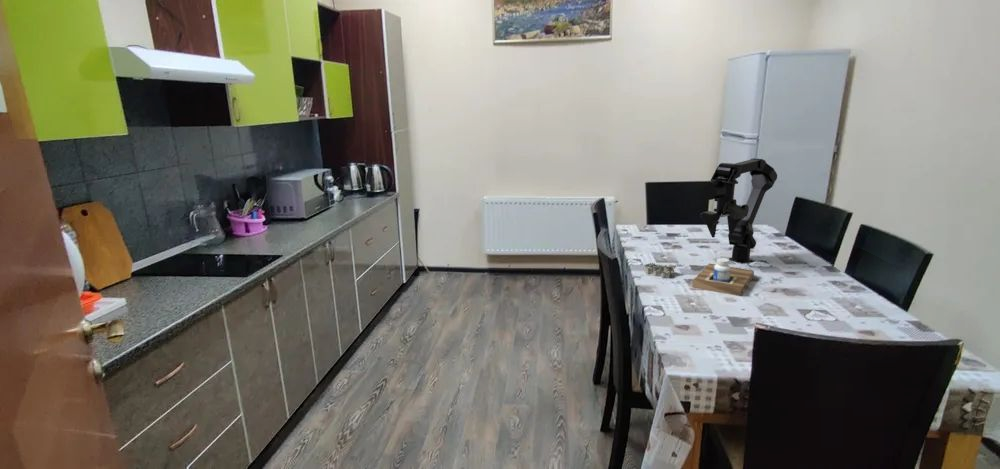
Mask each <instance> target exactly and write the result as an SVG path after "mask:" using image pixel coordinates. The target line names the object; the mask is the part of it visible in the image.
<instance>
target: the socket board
mask: <svg viewBox="0 0 1000 469" xmlns="http://www.w3.org/2000/svg"><path fill="white" fill-rule="evenodd" d="M716 264H717V263H708V264H707V265H706V266H705V267H704V268H703V269H702V270H701V271H700V272H699V273H698V274H697V275H696V277H694V278H693V279H692V284H691V286H692V288H696V289H701V290H706V291H712V292H716V293H721V294H726V295H727V294H728V295H732V296H737V297H742V295H743V294H744V292H745V290H746V289H747V287H748V286H749V284H750V283H751V281H752V280H753V278H754V275H755V274H754V273H755V270H752V269H747V268H741V267H733V266H730V267H731V270H730V280H729V283H726V282H721V281H715V280H713V275H714V266H715V265H716Z"/></svg>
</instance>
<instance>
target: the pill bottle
mask: <svg viewBox="0 0 1000 469" xmlns="http://www.w3.org/2000/svg"><path fill="white" fill-rule="evenodd" d="M715 264H716V265H715V266H714V275H713V280H715V281H721V282H726V283H729V280H730V270H731V267H732V266H730V265H729V264H730V259H729V258H726V257H717V258H716V263H715Z"/></svg>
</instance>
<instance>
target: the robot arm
mask: <svg viewBox="0 0 1000 469" xmlns="http://www.w3.org/2000/svg"><path fill="white" fill-rule="evenodd" d="M746 173H749V175H750V176H751V181H750V182H751V185H752V189H751V192H750V193H749V196H748V199H747V201H746V203H745V204H742V205H741V204H737V199H734V196H735V186H736V185H737V184H739V182H738V180H737V179H738V178H740V177H741V175H742V174H746ZM777 179H778V173H777V172H776V170H775V168H774V167H773V166H771V165H770V164H768V163H767V161H766V160H765V159H763V158H750V159H747V160H743V161H739V162H736V163H732V162H731V163H729V162H720V163H719V164H718V166H716V169H715V171H714V172H713V174H712V176H711V178H710V180H709V181H708V182H707V184H706V185H705V186H704V187H703V189H702V195H703V198H705V199H706V200H707V201H711V200H714V202H716V208H713V211H702V212H701V213H700V218H699V220H702V221H703V222H704V223H705V225H706V227H707V229H708V231H709V234H710V236H711V237H712V238H715V237H716V233H717V232H716V231H717V226H718V225H719V223H720V221H719V220H720V219H721V218H724V217H726V219H727V229H728V235H727V236H728V244H729V245H730V246H733V248H732V252H731V256H730V257H729V258H728V260H729V261H730V260H731V261H734V262H736V263H739V264H745V263H749V262H753V259H752V258H750V257H751V250H752V249H754V248H756V245H757V241H756V239H755V237H754V234H755V232H754V227H753V224H754V221H755V219H756V217H757V214H758V212H759V209H760V206H761V203H762V202H763V199H764V197H765V195H766V192H767V191H769V190H771V188H773V186H774V184H775V183H776V182H777Z"/></svg>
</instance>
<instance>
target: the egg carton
mask: <svg viewBox="0 0 1000 469" xmlns="http://www.w3.org/2000/svg"><path fill="white" fill-rule="evenodd" d="M676 267H677V266H676V265H674V264H669V265H667V264H665V265H663V264H656V263H655V262H649V263H646V264H644V272H645V274H646V275H653V276H654V277H660V278H661V279H670V277H674V276H675V269H676Z"/></svg>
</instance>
